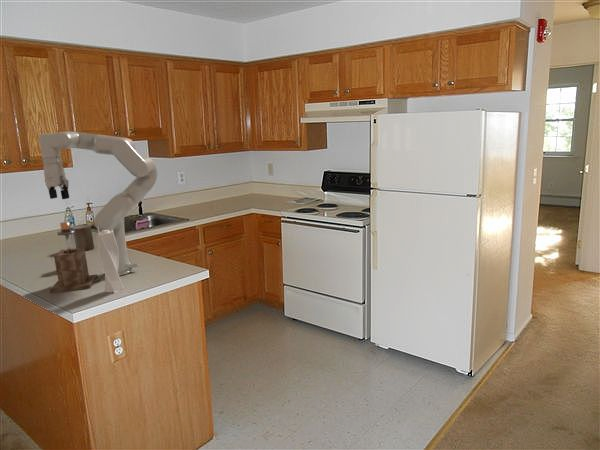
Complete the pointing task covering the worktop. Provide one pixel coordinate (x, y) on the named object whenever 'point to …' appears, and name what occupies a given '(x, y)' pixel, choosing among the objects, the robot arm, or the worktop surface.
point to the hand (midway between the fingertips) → (59, 198)
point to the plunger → (66, 233)
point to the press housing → (72, 271)
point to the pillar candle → (83, 237)
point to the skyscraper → (109, 260)
